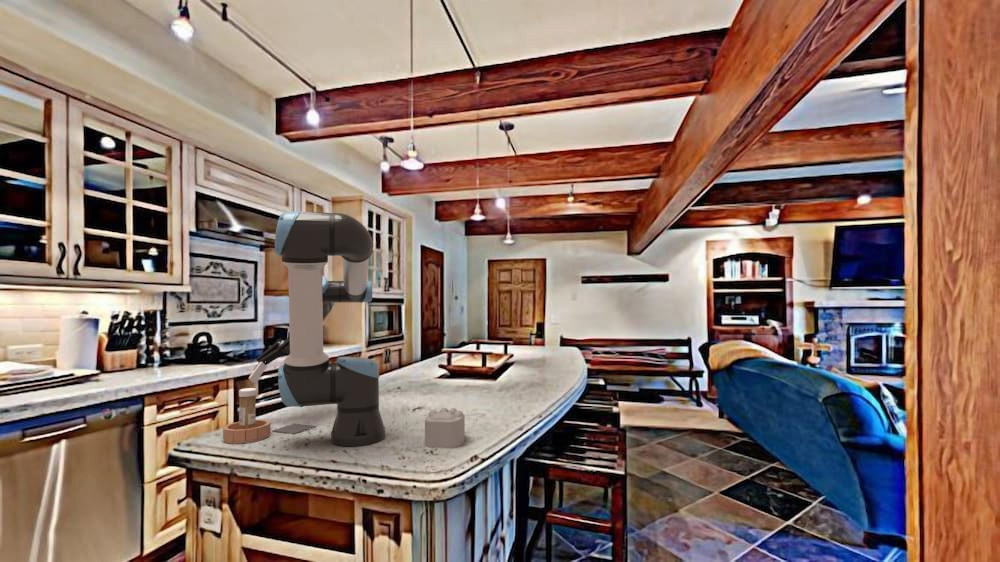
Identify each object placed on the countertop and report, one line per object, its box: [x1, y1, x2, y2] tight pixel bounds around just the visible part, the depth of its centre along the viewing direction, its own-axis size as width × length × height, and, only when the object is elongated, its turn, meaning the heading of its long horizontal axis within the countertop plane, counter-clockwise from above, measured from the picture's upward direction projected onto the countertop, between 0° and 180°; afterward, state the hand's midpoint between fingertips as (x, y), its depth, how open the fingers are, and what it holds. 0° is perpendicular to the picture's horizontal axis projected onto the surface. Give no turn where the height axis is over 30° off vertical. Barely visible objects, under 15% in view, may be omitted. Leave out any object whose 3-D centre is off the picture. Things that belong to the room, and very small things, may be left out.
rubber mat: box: [271, 423, 316, 435], centre depth 148 cm, size 9×9×1 cm
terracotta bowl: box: [222, 419, 272, 445], centre depth 139 cm, size 12×12×4 cm
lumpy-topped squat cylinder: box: [424, 407, 466, 449], centre depth 134 cm, size 10×13×9 cm
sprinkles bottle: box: [238, 387, 257, 430], centre depth 139 cm, size 5×5×13 cm
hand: (268, 381), depth 147 cm, fingers open, 13 cm apart
